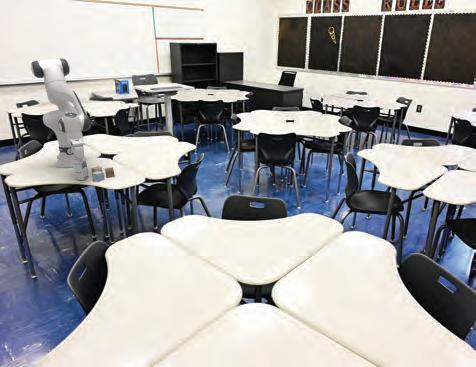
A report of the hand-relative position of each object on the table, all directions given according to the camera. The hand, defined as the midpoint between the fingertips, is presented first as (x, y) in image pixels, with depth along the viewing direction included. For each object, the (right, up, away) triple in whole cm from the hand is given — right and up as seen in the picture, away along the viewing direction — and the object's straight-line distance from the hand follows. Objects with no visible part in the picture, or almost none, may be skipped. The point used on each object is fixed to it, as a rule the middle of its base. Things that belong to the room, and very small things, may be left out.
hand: (79, 161), depth 219 cm
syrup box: (0, -11, +4) cm, 11 cm away
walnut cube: (+16, -9, +8) cm, 20 cm away
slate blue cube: (+11, -11, +2) cm, 16 cm away
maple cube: (+7, -8, +12) cm, 15 cm away
